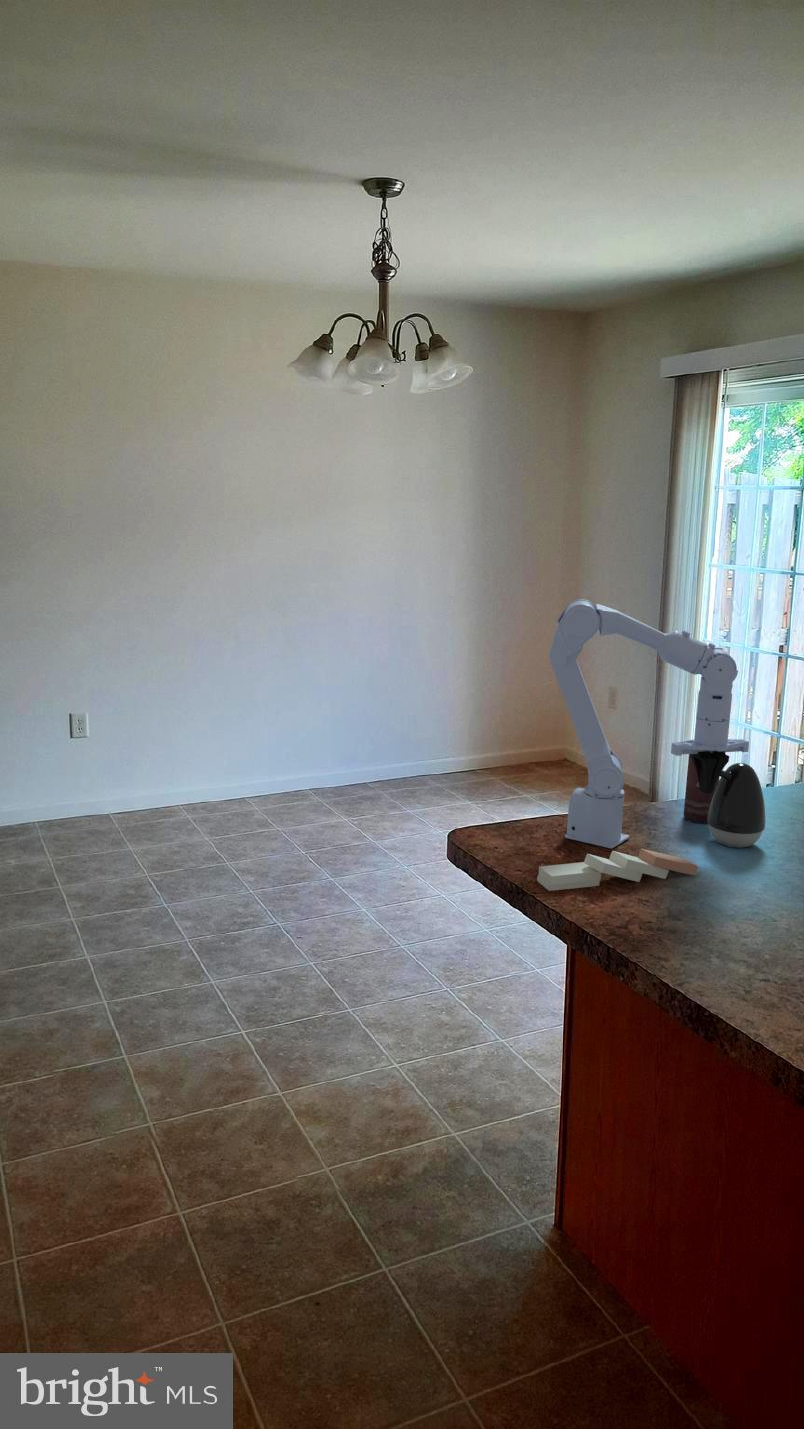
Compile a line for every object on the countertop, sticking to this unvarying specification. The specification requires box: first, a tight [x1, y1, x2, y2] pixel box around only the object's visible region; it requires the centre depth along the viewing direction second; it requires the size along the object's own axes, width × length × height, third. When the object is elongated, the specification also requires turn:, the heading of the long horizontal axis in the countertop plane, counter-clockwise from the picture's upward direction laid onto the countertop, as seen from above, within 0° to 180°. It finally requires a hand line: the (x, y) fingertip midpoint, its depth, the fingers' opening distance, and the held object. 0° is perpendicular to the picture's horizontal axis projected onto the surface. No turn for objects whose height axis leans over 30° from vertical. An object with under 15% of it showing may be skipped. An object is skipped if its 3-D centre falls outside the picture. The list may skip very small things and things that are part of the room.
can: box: [683, 754, 721, 825], centre depth 205 cm, size 6×6×14 cm
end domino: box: [637, 848, 699, 877], centre depth 176 cm, size 2×4×9 cm
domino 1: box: [538, 861, 602, 886], centre depth 171 cm, size 2×4×9 cm
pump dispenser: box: [707, 762, 766, 849], centre depth 191 cm, size 10×10×15 cm
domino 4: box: [609, 850, 670, 880], centre depth 174 cm, size 2×4×9 cm
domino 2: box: [536, 874, 601, 892], centre depth 171 cm, size 2×4×9 cm
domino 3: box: [583, 853, 644, 883], centre depth 172 cm, size 2×4×9 cm
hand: (706, 792), depth 188 cm, fingers closed
